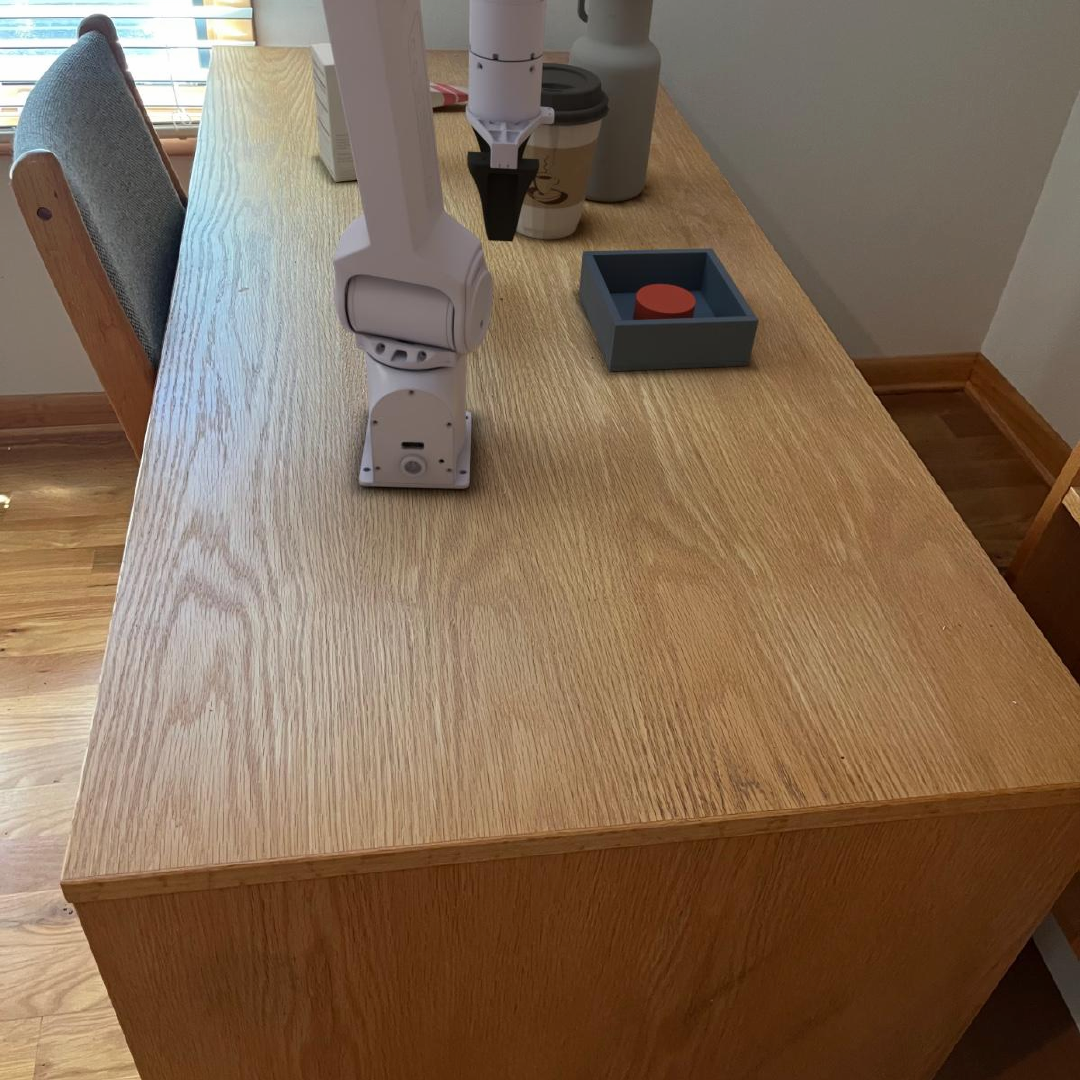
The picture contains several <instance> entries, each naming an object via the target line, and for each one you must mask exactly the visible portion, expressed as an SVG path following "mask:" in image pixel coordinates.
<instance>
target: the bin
mask: <svg viewBox="0 0 1080 1080" xmlns="http://www.w3.org/2000/svg"><path fill="white" fill-rule="evenodd" d="M580 266H581V267H580V277H579V288H578V297H579V299H580V301H581V304H582V306H583V309H584V312H585V314H586V316H587V319H588V321H589V324H590V326H591V329H592V331H593V334H594V336H595V339H596V341H597V344H598V346H599V348H600V351H601V353H602V355H603V359H604V361H605V363H606V366H607V368H608V370H609V372H626V371H627V372H628V371H630V372H631V371H654V370H674V369H697V368H721V367H723V368H725V367H745V366H747V367H749V365H750V361H751V358H752V357H751V356H752V353H753V352H752V351H753V347H754V344H755V339H756V333H757V329H758V325H759V321H760V320H759V318H758V317H757V316H756V314H755V312H754V310H753V309H752V307H751V306H750V304H749V303H748V302H747V300H746V298H745V297H744V296H743V294H742V292H741V290H740V289H739V287H738V286H737V284H736V283H735V281H734V279H733V278H732V277H731V275H730V274H729V272H728V271H727V269H726V267H725V266H724V264H723V263H722V261H721V259H720V258H719V256H718V255H717V253H716V252H715V251H714V248H711V247H709V248H708V247H707V248H705V247H703V248H674V249H673V248H667V249H666V248H664V249H662V248H661V249H660V248H659V249H620V250H617V249H616V250H614V249H613V250H583V251H582V256H581V265H580ZM653 284H668V285H674V286H678V287H681V288H683V289H685V290H687V291H689V292H690V293H691V294H692V295H693V296H694V297H695V299H696V305H695V311H694V316H693V318H680V319H651V320H633V315H634V307H635V300H636V294H637V292H638V291H639V290H640V289H641V288H643V287H645V286H648V285H653Z"/></svg>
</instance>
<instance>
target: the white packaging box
mask: <svg viewBox="0 0 1080 1080" xmlns="http://www.w3.org/2000/svg"><path fill="white" fill-rule="evenodd" d="M309 49H310V59H311V69H312V80H313V91H314V100H315V101H314V102H315V113H316V125H317V137H318V149H319V156H320V159H321V161H322V163H323V164H324V166H325V168H326V169H327V171H328V172H329V174H330V176H331V177H332V179H333V181H334V182H335V183H339V182H346V181H347V182H348V181H356V180H357V176H356V171H355V166H354V161H353V156H352V151H351V146H350V141H349V135H348V130H347V125H346V120H345V115H344V110H343V105H342V100H341V95H340V90H339V85H338V80H337V75H336V70H335V64H334V59H333V54H332V49H331V44H330V42H323V43H310V44H309Z"/></svg>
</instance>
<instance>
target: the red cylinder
mask: <svg viewBox="0 0 1080 1080" xmlns="http://www.w3.org/2000/svg"><path fill="white" fill-rule="evenodd" d="M695 305H696V299H695V297H694V296H693V295H692V294H691V293H690V292H689V291H687V290H685V289H683V288H681V287H678V286H674V285H668V284H653V285H648V286H645V287H643V288H641V289H640V290H639V291H638V292H637V294H636V300H635V307H634V315H633V320H651V319H680V318H693V316H694V311H695Z"/></svg>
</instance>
